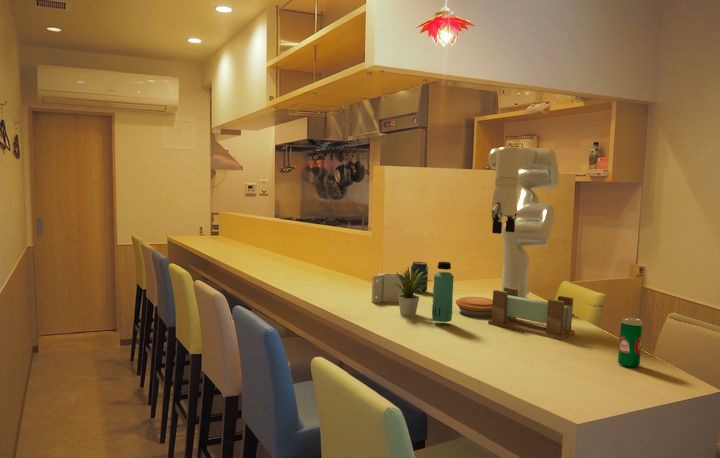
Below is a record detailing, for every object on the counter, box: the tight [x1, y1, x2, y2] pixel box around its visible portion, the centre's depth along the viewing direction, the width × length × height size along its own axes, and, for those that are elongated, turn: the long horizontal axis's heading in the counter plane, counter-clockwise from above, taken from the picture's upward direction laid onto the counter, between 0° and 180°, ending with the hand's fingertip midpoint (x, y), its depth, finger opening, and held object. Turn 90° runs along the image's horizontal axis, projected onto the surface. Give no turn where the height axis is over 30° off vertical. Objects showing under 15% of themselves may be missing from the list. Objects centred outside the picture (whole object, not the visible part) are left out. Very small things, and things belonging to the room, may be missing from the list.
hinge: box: [371, 273, 405, 304], centre depth 206 cm, size 14×5×10 cm, turn 106°
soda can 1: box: [410, 261, 429, 294], centre depth 225 cm, size 7×7×12 cm
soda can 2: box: [617, 316, 644, 369], centre depth 140 cm, size 5×5×12 cm
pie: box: [455, 296, 493, 318], centre depth 192 cm, size 16×16×5 cm
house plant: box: [392, 266, 432, 317], centre depth 184 cm, size 14×14×16 cm
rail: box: [506, 295, 573, 328], centre depth 173 cm, size 4×24×6 cm, turn 49°
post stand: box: [488, 287, 576, 341], centre depth 173 cm, size 10×24×11 cm, turn 49°
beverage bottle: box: [431, 261, 454, 323], centre depth 174 cm, size 6×7×20 cm
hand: (503, 232), depth 191 cm, fingers open, 9 cm apart
